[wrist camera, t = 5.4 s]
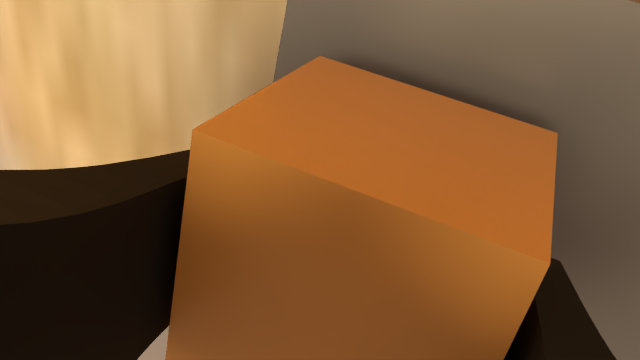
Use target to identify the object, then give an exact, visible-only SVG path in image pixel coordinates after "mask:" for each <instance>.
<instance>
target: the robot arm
mask: <svg viewBox="0 0 640 360" xmlns="http://www.w3.org/2000/svg"><path fill="white" fill-rule="evenodd" d="M189 157H190V150H186V151H181V152H176V153H171V154H166V155H161V156H155V157H150V158H144V159H137V160H131V161H125V162H118V163H112V164H106V165H97V166H88V167H78V168H64V169H49V170H0V360H137V359H138V358H139V356H140V355H141V354H142V353H143V352H144V351H145V350H146V349H147V348H148V346H149V345H150V344H151V343H152V342H153V341H154V340H155V339H156V338H157V337H158V336H159V335H160V334H161V333H162V332H163V331H164V330H165V329H166V328H167V327H168V326H169V325H170V317H171V309H172V300H173V292H174V283H175V275H176V266H177V258H178V250H179V241H180V233H181V224H182V216H183V207H184V199H185V191H186V182H187V174H188V165H189ZM504 360H617V359H616V358H615V356H614V355H613V354H612V352H611V351H610V349H609V347H608V346H607V344H606V343H605V341H604V339H603V338H602V336H601V335H600V333H599V331H598V330H597V328H596V326H595V325H594V323H593V321H592V319H591V318H590V316H589V314H588V312H587V310H586V309H585V307H584V305H583V303H582V301H581V300H580V298H579V296H578V294H577V292H576V290H575V288H574V286H573V284H572V282H571V280H570V279H569V277H568V275H567V273H566V271H565V269H564V267H563V265H562V263H561V262H560V261H559V260H556V259H553V258H551V261H550V266H549V268H548V270H547V272H546V274H545V276H544V278H543V280H542V282H541V284H540V286H539V288H538V290H537V292H536V294H535V296H534V298H533V300H532V302H531V305H530V307H529V309H528V311H527V313H526V315H525V317H524V319H523V321H522V323H521V325H520V327H519V329H518V331H517V333H516V335H515V337H514V339H513V341H512V343H511V345H510V348H509V350H508V352H507V354H506V356H505V358H504Z"/></svg>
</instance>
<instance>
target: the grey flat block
mask: <svg viewBox="0 0 640 360" xmlns="http://www.w3.org/2000/svg"><path fill="white" fill-rule="evenodd" d="M319 56H322V57H326V58H329V59H332V60H335V61H338V62H341V63H344V64H347V65H350V66H353V67H356V68H359V69H362V70H366V71H369V72H372V73H375V74H378V75H381V76H384V77H387V78H390V79H393V80H396V81H399V82H402V83H405V84H409V85H412V86H415V87H418V88H421V89H424V90H427V91H430V92H433V93H436V94H439V95H442V96H445V97H449V98H452V99H455V100H458V101H461V102H464V103H467V104H470V105H473V106H476V107H479V108H482V109H485V110H488V111H492V112H495V113H498V114H501V115H504V116H507V117H510V118H513V119H516V120H519V121H522V122H525V123H528V124H532V125H535V126H538V127H541V128H544V129H547V130H550V131H553V132H556V133H558V137H557V155H556V173H555V190H554V208H553V226H552V243H551V258H553V259H556V260H559V261H560V262H561V263H562V265H563V267H564V269H565V271H566V273H567V275H568V277H569V279H570V280H571V282H572V284H573V286H574V288H575V290H576V292H577V294H578V296H579V298H580V300H581V301H582V303H583V305H584V307H585V309H586V310H587V312H588V314H589V316H590V318H591V319H592V321H593V323H594V325H595V326H596V328H597V330H598V331H599V333H600V335H601V336H602V338H603V339H604V341H605V343H606V344H607V346H608V347H609V349H610V351H611V352H612V354H613V355H614V356H615V358H616V359H617V360H640V0H288V1H287V7H286V12H285V18H284V24H283V30H282V35H281V41H280V47H279V52H278V58H277V64H276V70H275V75H274V81H273V83H274V82H276V81H277V80H279V79H281V78H282V77H284V76H286V75H288V74H289V73H291V72H293V71H295V70H296V69H298V68H300V67H301V66H303V65H305V64H307V63H308V62H310V61H312V60H313V59H315V58H317V57H319Z"/></svg>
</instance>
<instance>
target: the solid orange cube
mask: <svg viewBox="0 0 640 360" xmlns="http://www.w3.org/2000/svg"><path fill="white" fill-rule="evenodd" d="M557 137H558V133H556V132H553V131H550V130H547V129H544V128H541V127H538V126H535V125H532V124H528V123H525V122H522V121H519V120H516V119H513V118H510V117H507V116H504V115H501V114H498V113H495V112H492V111H488V110H485V109H482V108H479V107H476V106H473V105H470V104H467V103H464V102H461V101H458V100H455V99H452V98H449V97H445V96H442V95H439V94H436V93H433V92H430V91H427V90H424V89H421V88H418V87H415V86H412V85H409V84H405V83H402V82H399V81H396V80H393V79H390V78H387V77H384V76H381V75H378V74H375V73H372V72H369V71H366V70H362V69H359V68H356V67H353V66H350V65H347V64H344V63H341V62H338V61H335V60H332V59H329V58H326V57H322V56H319V57H317V58H315V59H313V60H312V61H310V62H308V63H307V64H305V65H303V66H301V67H300V68H298V69H296V70H295V71H293V72H291V73H289V74H288V75H286V76H284V77H282V78H281V79H279V80H277V81H276V82H274V83H272V84H270V85H269V86H267V87H265V88H264V89H262V90H260V91H258V92H257V93H255V94H253V95H251V96H250V97H248V98H246V99H245V100H243V101H241V102H239V103H238V104H236V105H234V106H233V107H231V108H229V109H227V110H226V111H224V112H222V113H221V114H219V115H217V116H215V117H214V118H212V119H210V120H208V121H207V122H205V123H203V124H202V125H200V126H198V127H196V128H195V129H193V132H192V140H191V149H190V157H189V165H188V174H187V182H186V191H185V199H184V207H183V216H182V224H181V233H180V241H179V250H178V258H177V266H176V275H175V283H174V292H173V300H172V309H171V317H170V325H169V334H168V342H167V351H166V359H165V360H504V358H505V356H506V354H507V352H508V350H509V348H510V345H511V343H512V341H513V339H514V337H515V335H516V333H517V331H518V329H519V327H520V325H521V323H522V321H523V319H524V317H525V315H526V313H527V311H528V309H529V307H530V305H531V302H532V300H533V298H534V296H535V294H536V292H537V290H538V288H539V286H540V284H541V282H542V280H543V278H544V276H545V274H546V272H547V270H548V268H549V266H550V261H551V243H552V226H553V208H554V190H555V173H556V155H557Z"/></svg>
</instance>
